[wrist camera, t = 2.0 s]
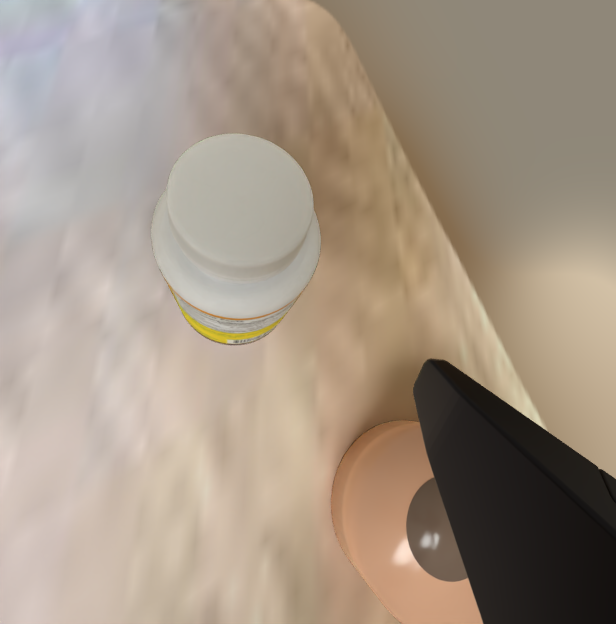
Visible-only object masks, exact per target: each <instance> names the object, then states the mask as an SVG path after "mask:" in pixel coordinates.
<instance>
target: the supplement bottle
mask: <svg viewBox="0 0 616 624" xmlns="http://www.w3.org/2000/svg"><path fill="white" fill-rule="evenodd" d="M151 240H152V248H153V252H154V256H155V259H156V262H157V264H158V267H159V269H160V271H161V273H162V275H163V277H164V279H165V280H166V282H167V284H168V286H169V288H170V290H171V292H172V294H173V296H174V298H175V300H176V302H177V303H178V305H179V307H180V309H181V311H182V313H183V315H184V317H185V319H186V320H187V321H188V323H189V324H190V325H191V326H192V327H193V328H194V329H195V330H196V331H197V332H198V333H199V334H201V335H202V336H203V337H205V338H207V339H209V340H211V341H214V342H216V343H219V344H224V345H244V344H249V343H252V342H255V341H257V340H259V339H261V338H263V337H265V336H266V335H268V334H269V333H270V332H271V331H272V330H273V329H274V328H275V327H276V326H277V325H278V324H279V323H280V321H281V320H282V319H283V317H284V316H285V315H286V314H287V312H288V311H289V309H290V308H291V307H292V305H293V304H294V303H295V302H296V300H297V299H298V297H299V296H300V295H301V293H302V292H303V290H304V289H305V288H306V286H307V285H308V283H309V281H310V279H311V278H312V276H313V274H314V272H315V269H316V267H317V263H318V260H319V255H320V250H321V234H320V227H319V223H318V219H317V216H316V213H315V211H314V202H313V194H312V189H311V186H310V184H309V181H308V179H307V177H306V175H305V173H304V171H303V169H302V168H301V167H300V165H299V164H298V163H297V162H296V161H295V159H294V158H293V157H292V156H291V155H289V154H288V153H287V152H286V151H285V150H283V149H282V148H280V147H279V146H277V145H275V144H274V143H272V142H270V141H268V140H265V139H262V138H260V137H256V136H252V135H248V134H239V133H230V134H221V135H216V136H212V137H209V138H206V139H204V140H201V141H199V142H198V143H196V144H194V145H193V146H191V147H190V148H189V149H188V150H186V151H185V152H184V153H183V154H182V155H181V156H180V158H179V159H178V160H177V161H176V163H175V165H174V167H173V168H172V171H171V173H170V176H169V178H168V183H167V188H166V190H165V191H164V193H163V194H162V196H161V197H160V199H159V201H158V203H157V206H156V208H155V211H154V214H153V219H152V226H151Z"/></svg>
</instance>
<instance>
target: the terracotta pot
mask: <svg viewBox="0 0 616 624" xmlns="http://www.w3.org/2000/svg"><path fill="white" fill-rule="evenodd" d="M331 512H332V520H333V525H334V529H335V533H336V536H337V539H338V541H339V544H340V546H341V548H342V550H343V552H344V553H345V555H346V557H347V558H348V559H349V561H350V562H351V564H352V565H353V566H354V567H355V569H356V570H357V571H358V573H359V574H360V575H361V576H362V578H363V579H364V580H365V582H366V583H367V584H368V586H369V587H370V588H371V589H372V591H373V592H374V593H375V595H376V596H377V597H378V598H379V600H380V601H381V602H382V604H383V605H384V606H385V608H386V609H387V610H388V611H389V612H390V613H391V614H392V615H393V616H394V617H395V618H396V619H397V620H398V621H400V622H401V623H402V624H483V622H482V619H481V616H480V613H479V610H478V607H477V604H476V601H475V598H474V595H473V592H472V589H471V586H470V583H469V580H468V577H467V574H466V571H465V568H464V565H463V562H462V559H461V556H460V553H459V550H458V547H457V544H456V541H455V538H454V535H453V532H452V529H451V526H450V523H449V520H448V517H447V514H446V511H445V508H444V505H443V502H442V499H441V496H440V493H439V490H438V487H437V484H436V481H435V478H434V475H433V472H432V469H431V466H430V463H429V459H428V456H427V453H426V449H425V445H424V440H423V436H422V431H421V427H420V422H416V421H408V420H396V421H390V422H386V423H383V424H380V425H377V426H375V427H373V428H371V429H370V430H368V431H367V432H365V433H364V434H362V435H361V436H360V437H359V438H358V439H357V440H356V441H355V442H354V443H353V444H352V445H351V447H350V448H349V449H348V451H347V452H346V454H345V455H344V457H343V459H342V461H341V463H340V465H339V467H338V470H337V472H336V475H335V479H334V483H333V488H332V497H331Z"/></svg>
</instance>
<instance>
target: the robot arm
mask: <svg viewBox="0 0 616 624" xmlns="http://www.w3.org/2000/svg"><path fill="white" fill-rule="evenodd" d="M413 395H414V400H415V404H416V409H417V413H418V418H419V422H420V427H421V431H422V436H423V440H424V445H425V449H426V453H427V456H428V459H429V463H430V466H431V469H432V472H433V475H434V478H435V481H436V484H437V487H438V490H439V493H440V496H441V499H442V502H443V505H444V508H445V511H446V514H447V517H448V520H449V523H450V526H451V529H452V532H453V535H454V538H455V541H456V544H457V547H458V550H459V553H460V556H461V559H462V562H463V565H464V568H465V571H466V574H467V577H468V580H469V583H470V586H471V589H472V592H473V595H474V598H475V601H476V604H477V607H478V610H479V613H480V616H481V619H482V622H483V624H616V479H615V478H613V477H612V476H611V475H609V474H608V473H606V472H605V471H603V470H602V469H598V467H597V466H596V465H595V464H593V463H592V462H590V461H589V460H588V459H586V458H585V457H583V456H582V455H580V454H579V453H577V452H576V451H574V450H573V449H572V448H570V447H569V446H567V445H566V444H565V443H563V442H562V441H560V440H559V439H557V438H556V437H555V436H553V435H552V434H550V433H549V432H547V431H546V430H545V429H543V428H542V427H540V426H539V425H537V424H536V423H534V422H533V421H532V420H530V419H529V418H527V417H526V416H524V415H523V414H522V413H520V412H519V411H517V410H516V409H514V408H513V407H512V406H510V405H509V404H507V403H506V402H504V401H503V400H502V399H500V398H499V397H497V396H496V395H494V394H493V393H492V392H490V391H489V390H487V389H486V388H484V387H483V386H481V385H480V384H479V383H477V382H476V381H474V380H473V379H471V378H470V377H469V376H467V375H466V374H464V373H463V372H461V371H460V370H459V369H457V368H456V367H454V366H453V365H451V364H450V363H449V362H447V361H445V360H439V359H428V360H426V361H425V363H424V365H423V367H422V369H421V371H420V373H419V375H418V377H417V379H416V382H415V384H414V388H413Z"/></svg>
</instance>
